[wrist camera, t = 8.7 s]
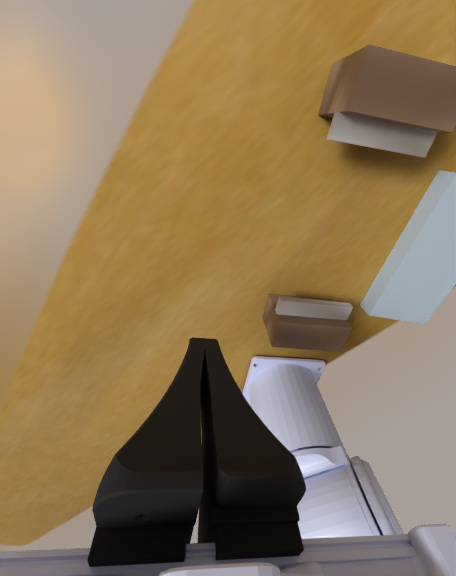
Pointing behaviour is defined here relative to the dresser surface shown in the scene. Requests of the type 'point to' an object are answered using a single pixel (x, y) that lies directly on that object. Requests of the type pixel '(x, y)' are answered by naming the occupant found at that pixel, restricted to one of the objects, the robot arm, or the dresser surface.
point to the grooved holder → (374, 134)
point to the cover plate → (419, 259)
